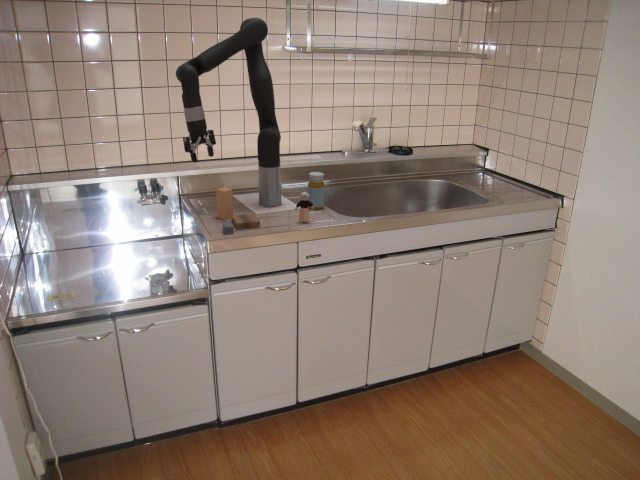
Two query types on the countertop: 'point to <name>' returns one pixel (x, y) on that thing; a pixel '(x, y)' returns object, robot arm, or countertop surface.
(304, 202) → the grandmother figurine
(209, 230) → the countertop surface
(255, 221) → the walnut block
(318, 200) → the bottle
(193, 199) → the countertop surface
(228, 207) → the light brown brick
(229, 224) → the charcoal brick
